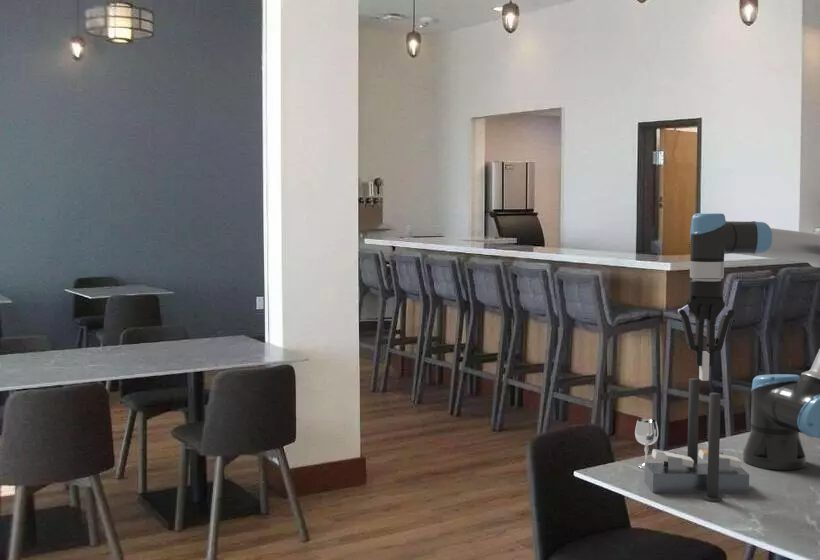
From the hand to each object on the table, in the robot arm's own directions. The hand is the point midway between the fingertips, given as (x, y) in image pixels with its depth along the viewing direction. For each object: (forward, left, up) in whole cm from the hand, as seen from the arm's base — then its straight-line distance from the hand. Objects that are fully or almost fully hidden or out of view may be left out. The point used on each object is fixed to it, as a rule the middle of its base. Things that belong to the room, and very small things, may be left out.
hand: (703, 379), depth 213 cm
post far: (0, -9, -26) cm, 27 cm away
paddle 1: (+7, 0, -19) cm, 20 cm away
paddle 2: (-4, 0, -19) cm, 19 cm away
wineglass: (+9, -17, -26) cm, 33 cm away
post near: (0, +9, -26) cm, 27 cm away
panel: (+1, 0, -26) cm, 26 cm away
